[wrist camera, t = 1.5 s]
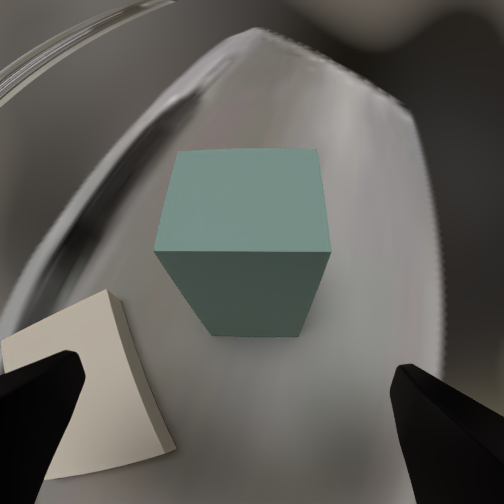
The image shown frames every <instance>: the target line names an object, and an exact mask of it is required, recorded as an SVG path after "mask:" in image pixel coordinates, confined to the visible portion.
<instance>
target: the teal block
mask: <svg viewBox="0 0 504 504" xmlns="http://www.w3.org/2000/svg"><path fill="white" fill-rule="evenodd" d="M154 253H155V254H156V256H157V257H158V259H159V260H160V262H161V263H162V265H163V266H164V268H165V270H166V271H167V273H168V274H169V276H170V277H171V279H172V280H173V281H174V283H175V284H176V286H177V287H178V289H179V290H180V292H181V293H182V295H183V296H184V298H185V299H186V300H187V302H188V303H189V305H190V306H191V308H192V309H193V310H194V312H195V313H196V315H197V316H198V317H199V319H200V320H201V322H202V323H203V324H204V326H205V327H206V329H207V330H208V331H209V333H210V334H211V335H214V336H241V337H298V336H299V333H300V331H301V329H302V326H303V324H304V321H305V319H306V317H307V314H308V312H309V309H310V307H311V304H312V302H313V299H314V296H315V294H316V291H317V289H318V286H319V284H320V281H321V278H322V276H323V273H324V270H325V268H326V265H327V262H328V259H329V257H330V254H331V245H330V236H329V228H328V220H327V212H326V204H325V197H324V190H323V183H322V177H321V170H320V164H319V158H318V152H317V149H296V148H241V149H212V150H194V151H179V152H178V154H177V158H176V161H175V165H174V168H173V172H172V176H171V179H170V183H169V187H168V191H167V195H166V199H165V203H164V207H163V211H162V215H161V219H160V223H159V228H158V232H157V237H156V241H155V246H154Z"/></svg>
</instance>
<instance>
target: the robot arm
mask: <svg viewBox="0 0 504 504" xmlns="http://www.w3.org/2000/svg"><path fill="white" fill-rule="evenodd" d="M85 379H86V375H85V371H84V368H83V365H82V362H81V359H80V356H79V354H78V353H77V352H75V351H70V350H63V351H61V352H58V353H56V354H53V355H51V356H48V357H46V358H43V359H41V360H38V361H36V362H33V363H31V364H28V365H26V366H23V367H20V368H18V369H15V370H13V371H10V372H8V373H5V374H2V375H0V504H34V503H35V501H36V498H37V495H38V493H39V490H40V488H41V485H42V483H43V480H44V478H45V476H46V473H47V471H48V468H49V466H50V464H51V461H52V459H53V457H54V455H55V452H56V450H57V448H58V446H59V444H60V441H61V439H62V437H63V435H64V433H65V431H66V429H67V427H68V424H69V422H70V420H71V417H72V415H73V412H74V409H75V407H76V404H77V401H78V399H79V396H80V393H81V391H82V388H83V385H84V383H85ZM390 398H391V403H392V408H393V412H394V418H395V423H396V428H397V433H398V438H399V442H400V446H401V449H402V452H403V456H404V459H405V463H406V466H407V469H408V473H409V477H410V480H411V484H412V488H413V491H414V495H415V499H416V503H417V504H504V417H503V416H501V415H499V414H498V413H496V412H494V411H493V410H491V409H489V408H487V407H485V406H484V405H482V404H480V403H479V402H477V401H475V400H473V399H472V398H470V397H468V396H467V395H465V394H463V393H461V392H460V391H458V390H456V389H454V388H453V387H451V386H449V385H448V384H446V383H444V382H443V381H441V380H439V379H437V378H436V377H434V376H432V375H431V374H429V373H427V372H425V371H424V370H422V369H420V368H419V367H417V366H415V365H414V364H403V365H399V366H398V367H397V368H396V371H395V374H394V378H393V381H392V384H391V387H390Z"/></svg>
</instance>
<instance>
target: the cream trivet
mask: <svg viewBox="0 0 504 504" xmlns="http://www.w3.org/2000/svg"><path fill="white" fill-rule="evenodd" d="M1 348H2V356H3V364H4V370H5V373H8V372H10V371H13V370H15V369H18V368H20V367H23V366H26V365H28V364H31V363H33V362H36V361H38V360H41V359H43V358H46V357H48V356H51V355H53V354H56V353H58V352H61V351H63V350H70V351H75V352H77V353H78V354H79V356H80V359H81V362H82V365H83V368H84V371H85V375H86V379H85V383H84V385H83V388H82V391H81V393H80V396H79V399H78V401H77V404H76V407H75V409H74V412H73V415H72V417H71V420H70V422H69V424H68V427H67V429H66V431H65V433H64V435H63V437H62V439H61V441H60V444H59V446H58V448H57V450H56V452H55V455H54V457H53V459H52V461H51V464H50V466H49V468H48V471H47V473H46V476H45V478H44V480H48V479H56V478H63V477H69V476H75V475H81V474H87V473H92V472H97V471H101V470H106V469H110V468H115V467H119V466H123V465H127V464H131V463H135V462H138V461H142V460H145V459H149V458H152V457H156V456H159V455H162V454H165V453H168V452H170V451H173V450H175V449H177V448H176V446H175V444H174V442H173V440H172V438H171V436H170V433H169V431H168V429H167V427H166V425H165V422H164V420H163V418H162V416H161V413H160V411H159V409H158V406H157V404H156V402H155V399H154V397H153V394H152V392H151V389H150V387H149V384H148V382H147V379H146V376H145V374H144V371H143V368H142V366H141V363H140V360H139V357H138V354H137V351H136V349H135V346H134V343H133V340H132V337H131V333H130V330H129V327H128V324H127V321H126V317H125V314H124V311H123V307H122V304H121V301H120V300H119V299H118V298H116V297H115V296H114V295H113V294H112V293H111V292H110V291H108V290H107V289H105V290H103V291H101V292H99V293H97V294H95V295H93V296H90V297H88V298H86V299H84V300H82V301H80V302H78V303H76V304H74V305H72V306H70V307H68V308H66V309H64V310H62V311H59V312H57V313H55V314H53V315H51V316H49V317H47V318H45V319H43V320H41V321H39V322H37V323H35V324H33V325H31V326H29V327H27V328H25V329H23V330H21V331H19V332H17V333H15V334H13V335H11V336H9V337H8V338H6V339H4V340H2V341H1Z"/></svg>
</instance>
